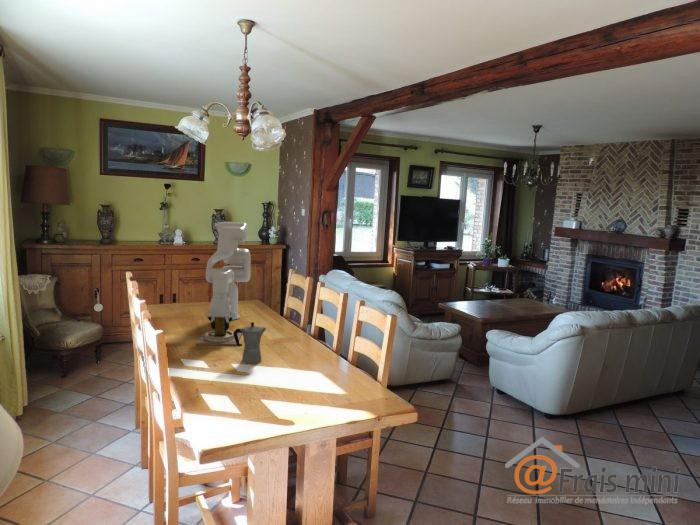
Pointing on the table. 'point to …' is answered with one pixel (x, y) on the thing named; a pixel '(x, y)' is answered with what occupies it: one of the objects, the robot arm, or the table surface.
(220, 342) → the holder
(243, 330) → the coffeepot
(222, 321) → the condiment
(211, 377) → the table surface
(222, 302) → the robot arm
